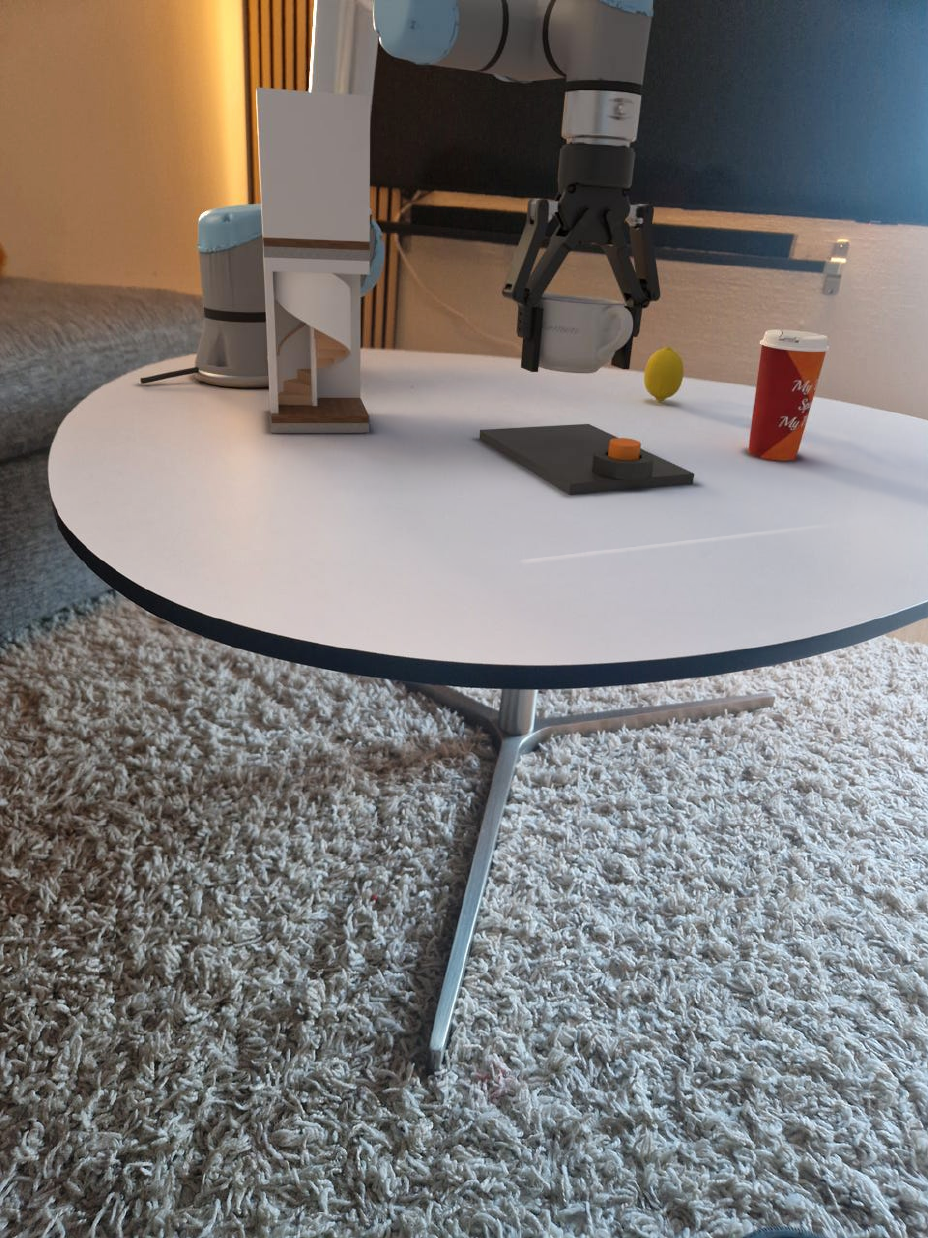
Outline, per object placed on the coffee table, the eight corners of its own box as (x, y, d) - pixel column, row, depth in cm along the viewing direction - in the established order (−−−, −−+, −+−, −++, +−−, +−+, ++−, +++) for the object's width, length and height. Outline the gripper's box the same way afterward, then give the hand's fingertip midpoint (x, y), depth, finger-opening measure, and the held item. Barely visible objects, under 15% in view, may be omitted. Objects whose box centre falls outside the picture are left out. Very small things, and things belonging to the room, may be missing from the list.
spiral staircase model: (271, 432, 105) (256, 87, 90) (270, 411, 114) (256, 95, 99) (368, 432, 107) (370, 95, 92) (359, 411, 117) (359, 102, 101)
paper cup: (796, 467, 103) (824, 341, 97) (731, 454, 107) (753, 332, 100) (812, 453, 109) (838, 334, 103) (749, 442, 113) (771, 326, 107)
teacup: (503, 362, 103) (508, 288, 99) (583, 359, 107) (591, 289, 104) (565, 387, 92) (573, 305, 88) (652, 383, 96) (663, 304, 92)
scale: (571, 497, 89) (575, 467, 87) (479, 439, 107) (480, 414, 106) (696, 486, 94) (700, 458, 93) (587, 432, 113) (590, 409, 111)
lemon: (637, 403, 130) (645, 346, 127) (645, 396, 135) (652, 341, 132) (675, 408, 129) (684, 350, 125) (681, 401, 133) (690, 345, 130)
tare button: (618, 463, 91) (620, 446, 90) (601, 455, 93) (603, 438, 93) (644, 461, 92) (647, 444, 91) (627, 453, 95) (630, 436, 94)
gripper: (510, 134, 82) (494, 377, 92) (716, 151, 91) (682, 371, 100) (477, 136, 88) (465, 364, 98) (672, 151, 97) (645, 359, 107)
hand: (575, 368), depth 99 cm, fingers closed on teacup, 11 cm apart
